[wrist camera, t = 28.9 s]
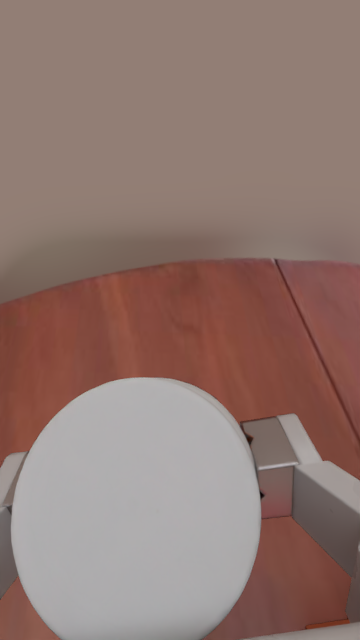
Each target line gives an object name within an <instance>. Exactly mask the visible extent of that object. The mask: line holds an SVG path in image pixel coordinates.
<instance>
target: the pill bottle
mask: <svg viewBox="0 0 360 640" xmlns="http://www.w3.org/2000/svg"><path fill="white" fill-rule="evenodd" d="M260 530H261V501H260V492H259V486H258V481H257V475H256V469H255V464H254V459H253V456H252V452H251V449H250V447H249V444H248V442H247V439H246V437H245V435H244V433H243V432H242V430H241V428H240V426H239V425H238V423H237V422H236V420H235V419H234V417H233V416H232V415H231V414H230V413H229V411H228V410H227V409H226V408H225V407H224V406H223V405H222V404H221V403H220V402H219V401H217V399H216V398H215V397H213V396H212V395H210V394H209V393H207V392H205V391H204V390H202V389H200V388H199V387H196V386H194V385H191V384H189V383H187V382H181V381H178V380H174V379H169V378H143V377H141V378H127V379H121V380H116V381H112V382H108V383H105V384H103V385H100V386H98V387H96V388H93V389H91V390H89V391H87V392H85V393H83V394H82V395H80V396H79V397H77V398H75V399H74V400H72V401H71V402H70V403H69V404H68V405H66V406H65V407H64V408H63V409H62V410H61V411H60V412H58V413H57V414H56V415H55V416H54V417H53V418H52V419H51V421H50V422H49V423H48V424H47V425H46V426H45V428H44V429H43V430H42V432H41V433H40V435H39V436H38V438H37V439H36V441H35V442H34V444H33V446H32V448H31V449H30V451H29V453H28V455H27V458H26V460H25V462H24V465H23V468H22V470H21V472H20V475H19V479H18V482H17V485H16V489H15V494H14V499H13V506H12V517H11V543H12V549H13V555H14V559H15V563H16V567H17V572H18V575H19V578H20V581H21V584H22V586H23V588H24V591H25V593H26V595H27V597H28V598H29V600H30V602H31V604H32V606H33V608H34V609H35V610H36V612H37V613H38V614H39V616H40V617H41V619H42V620H43V622H44V623H45V624H46V625H47V626H48V627H49V628H50V630H52V631H53V632H54V633H55V634H56V635H57V636H58V637H59V638H60V639H61V640H202V639H203V638H205V637H206V636H207V635H208V634H210V633H211V632H212V631H213V630H214V629H215V628H216V627H217V626H218V625H219V624H220V623H221V622H222V620H223V619H224V618H225V617H226V616H227V615H228V613H229V612H230V611H231V610H232V608H233V606H234V605H235V603H236V602H237V600H238V599H239V597H240V596H241V594H242V592H243V590H244V587H245V585H246V583H247V581H248V579H249V577H250V574H251V571H252V567H253V564H254V562H255V558H256V555H257V550H258V545H259V540H260Z"/></svg>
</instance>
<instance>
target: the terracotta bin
mask: <svg viewBox="0 0 360 640" xmlns="http://www.w3.org/2000/svg"><path fill="white" fill-rule="evenodd" d="M349 623H350V621H349V619H347V620H340V621H333V622H326V623H320V624H313V625H306V630H307V629H314V628H321V627H328V626H335V625H342V624H349Z"/></svg>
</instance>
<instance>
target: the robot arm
mask: <svg viewBox="0 0 360 640" xmlns="http://www.w3.org/2000/svg"><path fill="white" fill-rule="evenodd" d="M239 426H240V428H241V430H242V432H243V433H244V435H245V437H246V439H247V442H248V444H249V447H250V449H251V452H252V456H253V459H254V464H255V469H256V475H257V481H258V486H259V492H260V501H261V519H269V518H278V517H286V516H292V518H293V519H294V520H295V521H296V522H297V523H298V524H299V525H300V526H301V527H302V528H303V529H304V530H305V531H306V532H307V533H308V534H309V535H310V536H311V537H312V538H313V539H314V540H315V541H316V542H317V543H318V544H319V545H320V546H321V547H322V548H323V549H324V550H325V551H326V552H327V553H328V554H329V555H330V556H331V557H332V558H333V559H334V560H335V561H336V562H337V563H338V564H339V565H340V566H341V567H342V568H343V569H344V570H345V572H346V573H347V574H348V575H349V576H350V577H351V578H352V580H351V585H350V589H349V594H348V599H347V604H346V609H345V612H346V614H347V616H348V619H349V621H350V623H349V624H342V625H335V626H328V627H321V628H314V629H307V630H300V631H293V632H286V633H279V634H272V635H265V636H258V637H251V638H244V639H237V640H360V480H358V479H356V478H355V477H353V476H352V475H350V474H349V473H347V472H346V471H344V470H342V469H341V468H339V467H338V466H336V465H335V464H333V463H332V462H330V461H322V459H321V457H320V455H319V454H318V452H317V450H316V448H315V447H314V445H313V443H312V441H311V440H310V438H309V436H308V434H307V433H306V431H305V429H304V427H303V425H302V424H301V422H300V420H299V418H298V417H297V415H295V414H294V413H292V414H286V415H279V416H276V417H275V416H273V417H267V418H260V419H253V420H247V421H240V425H239ZM28 453H29V451H27V452H18V453H11V454H10V455H8V456H7V457H6V458H5V460H4V462H3V464H2V466H1V468H0V599H1V598H2V597H3V595H4V594H5V593H6V591H7V590H8V588H9V587H10V586H11V584H12V583H13V582H14V580H15V579H16V578H17V576H18V572H17V567H16V563H15V559H14V555H13V549H12V543H11V517H12V506H13V499H14V494H15V489H16V485H17V482H18V479H19V475H20V472H21V470H22V468H23V465H24V462H25V460H26V458H27V455H28Z"/></svg>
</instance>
